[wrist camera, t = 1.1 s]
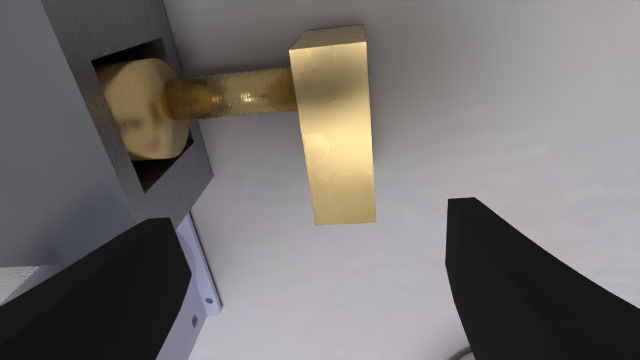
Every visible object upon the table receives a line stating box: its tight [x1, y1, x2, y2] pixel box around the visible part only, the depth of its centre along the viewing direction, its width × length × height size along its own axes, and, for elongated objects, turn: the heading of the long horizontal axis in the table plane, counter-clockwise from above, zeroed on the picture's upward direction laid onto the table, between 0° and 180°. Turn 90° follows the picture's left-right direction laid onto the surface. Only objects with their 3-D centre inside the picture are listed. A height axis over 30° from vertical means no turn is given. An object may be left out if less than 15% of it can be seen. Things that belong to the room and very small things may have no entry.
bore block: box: [0, 0, 213, 267], centre depth 16 cm, size 10×8×7 cm
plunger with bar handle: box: [93, 24, 376, 225], centre depth 16 cm, size 7×15×5 cm, turn 97°
